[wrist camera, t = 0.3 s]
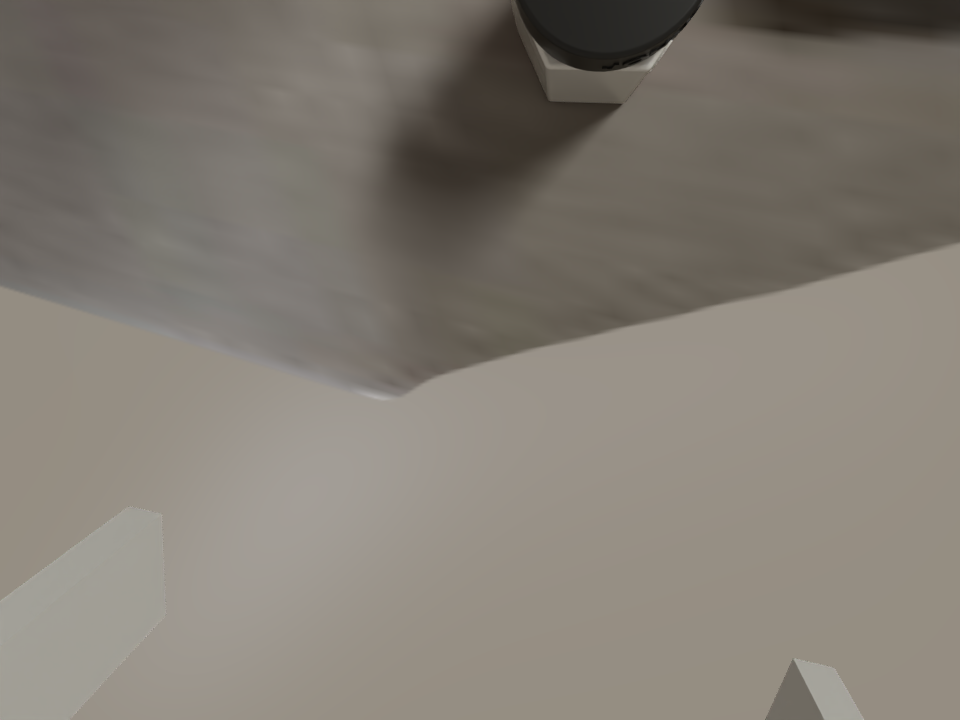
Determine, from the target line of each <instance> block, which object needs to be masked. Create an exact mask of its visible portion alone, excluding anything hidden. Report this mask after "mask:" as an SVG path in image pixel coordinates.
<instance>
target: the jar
mask: <svg viewBox="0 0 960 720" xmlns="http://www.w3.org/2000/svg"><path fill="white" fill-rule="evenodd" d="M510 1H511V6H512V10H513V14H514V18H515V23H516V27H517V31H518V33H519V35H520V37H521V40H522V42H523V44H524V46H525V49H526V51H527V53H528V55H529V58H530V60H531V62H532V65H533V67H534V69H535V71H536V74H537V76H538V78H539V80H540V83H541V85H542V87H543V89H544V92H545V94H546V96H547V99H548V100H549V101H552V102H585V103H616V104H623V103H625V102H626V101H627V100H628V98H629V97H630V96H631V94H632V93H633V92H634V90H635V89H636V88H637V87H638V85H639V84H640V83H641V81H642V80H643V79H644V77H645V76H646V75H647V74H648V73H650V72H651V71H652V69H653V68H654V67H655V66H656V64H657V63H658V62H659V60H660V59H661V57H662V56H663V54H664V53H665V51H666V50H667V48H668V47H669V45H670V44H671V43H672V41H673V40H674V38H675V37H676V36H677V35H678V33H680V32H681V31H682V30H683V28H684V27H685V26H686V25H687V24H688V22H689V21H690V20H691V18H692V17H693V16H694V14H695V13H696V12H697V10H698V9H699V7H700V5H701V4H702V2H703V0H510Z"/></svg>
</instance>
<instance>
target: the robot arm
mask: <svg viewBox="0 0 960 720" xmlns="http://www.w3.org/2000/svg"><path fill="white" fill-rule="evenodd" d="M165 616H166V599H165V573H164V550H163V526H162V514H161V513H157V512H153V511H148V510H144V509H140V508H135V507H130V506H128V507H127V508H125V509H124V510H123V511H121V512H120V513H119V514H117V515H116V516H115V517H113V518H112V519H111V520H109V521H108V522H106V523H105V524H104V525H103V526H101V527H100V528H98V529H97V530H96V531H94V532H93V533H92V534H90V535H89V536H87V537H86V538H85V539H83V540H82V541H81V542H79V543H78V544H77V545H75V546H74V547H73V548H71V549H70V550H69V551H67V552H66V553H64V554H63V555H62V556H61V557H59V558H58V559H56V560H55V561H54V562H52V563H51V564H50V565H48V566H47V567H46V568H44V569H43V570H41V571H40V572H39V573H38V574H36V575H35V576H33V577H32V578H31V579H29V580H28V581H27V582H25V583H24V584H22V585H21V586H20V587H18V588H17V589H16V590H14V591H13V592H12V593H11V594H9V595H8V596H6V597H5V598H3V599H2V600H1V601H0V720H70V719H71V718H72V717H73V716H74V715H75V713H76V712H77V711H78V710H79V709H80V708H81V707H82V706H83V705H84V704H85V703H86V701H87V700H88V699H89V698H90V697H91V696H92V695H93V694H94V693H95V691H97V689H98V688H99V687H100V686H101V685H102V684H103V683H104V682H105V681H106V679H108V678H109V676H110V675H111V674H112V673H113V672H114V671H115V670H116V668H118V667H119V665H120V664H121V663H122V662H123V661H124V660H125V659H126V658H127V657H128V656H129V655H130V654H131V653H132V651H133V650H134V649H135V648H136V647H137V646H138V645H139V644H140V643H141V642H142V641H143V639H144V638H145V637H146V636H147V635H148V634H149V633H150V632H151V631H152V629H154V627H155V626H156V625H157V624H158V623H159V622H160V621H161V620H162V619H163V618H164V617H165ZM765 720H864V718H863V717H862V715H861V713H860V712H859V710H858V708H857V706H856V705H855V703H854V701H853V700H852V698H851V696H850V694H849V693H848V691H847V689H846V687H845V686H844V684H843V682H842V681H841V679H840V677H839V676H838V674H837V672H836V670H835V669H834V668H833V667H829V666H825V665H821V664H816V663H812V662H808V661H803V660H799V659H794V658H793V660H792V662H791V664H790V666H789V668H788V671H787V673H786V675H785V677H784V680H783V682H782V684H781V686H780V688H779V691H778V693H777V695H776V697H775V699H774V702H773V704H772V706H771V708H770V711H769V713H768V715H767V717H766V719H765Z"/></svg>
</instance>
